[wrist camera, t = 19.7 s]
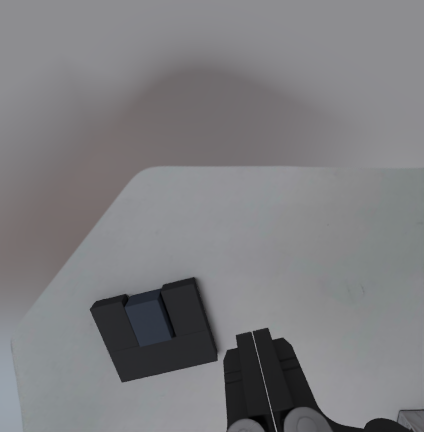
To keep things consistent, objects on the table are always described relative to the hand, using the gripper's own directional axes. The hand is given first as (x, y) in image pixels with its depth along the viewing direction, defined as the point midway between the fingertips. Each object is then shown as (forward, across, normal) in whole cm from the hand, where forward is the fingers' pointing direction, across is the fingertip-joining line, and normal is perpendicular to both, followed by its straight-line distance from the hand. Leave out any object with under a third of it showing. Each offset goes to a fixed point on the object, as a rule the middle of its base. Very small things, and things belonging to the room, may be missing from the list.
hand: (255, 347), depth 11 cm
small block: (+24, +15, +12) cm, 31 cm away
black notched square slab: (+24, +15, +15) cm, 32 cm away
